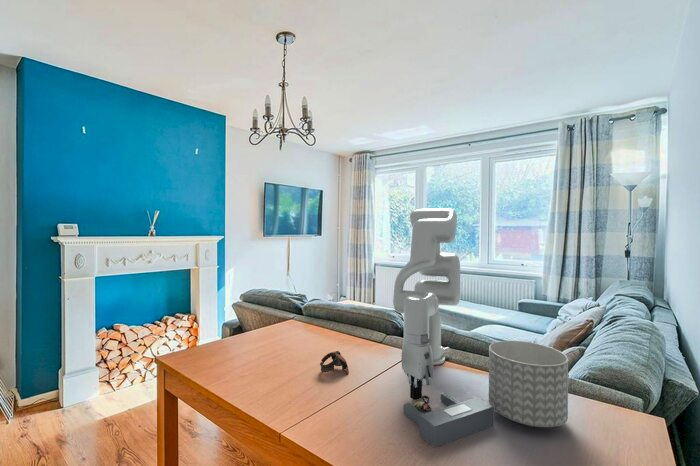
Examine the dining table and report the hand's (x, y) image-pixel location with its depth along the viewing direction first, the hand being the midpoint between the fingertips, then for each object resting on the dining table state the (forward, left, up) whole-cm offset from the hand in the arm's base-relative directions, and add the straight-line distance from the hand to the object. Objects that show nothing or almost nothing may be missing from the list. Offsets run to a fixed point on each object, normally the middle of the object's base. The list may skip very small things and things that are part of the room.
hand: (415, 398), depth 101 cm
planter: (-21, +21, -1) cm, 30 cm away
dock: (0, +12, -1) cm, 12 cm away
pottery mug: (+13, -29, -1) cm, 32 cm away
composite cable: (-1, +4, -1) cm, 4 cm away
